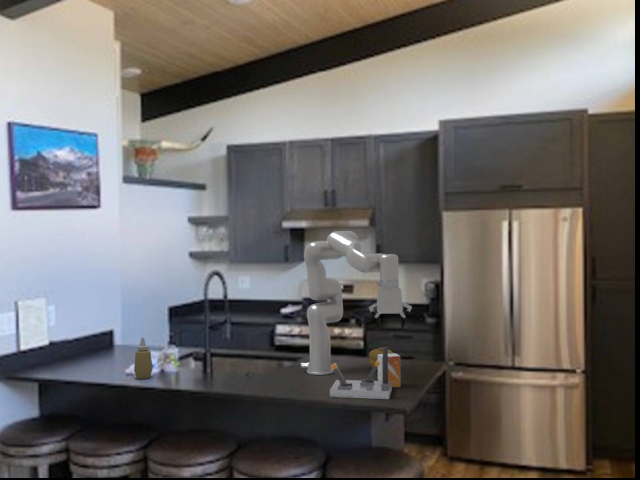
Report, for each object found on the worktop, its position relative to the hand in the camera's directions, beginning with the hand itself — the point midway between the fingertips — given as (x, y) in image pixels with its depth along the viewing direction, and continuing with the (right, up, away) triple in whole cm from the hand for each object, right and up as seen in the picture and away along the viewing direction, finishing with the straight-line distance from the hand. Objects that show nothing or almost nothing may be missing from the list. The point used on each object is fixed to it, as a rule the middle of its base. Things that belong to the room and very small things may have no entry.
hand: (390, 327), depth 264 cm
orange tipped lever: (-19, -22, -5) cm, 29 cm away
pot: (0, -25, +41) cm, 48 cm away
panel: (-12, -26, -2) cm, 29 cm away
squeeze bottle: (-108, -27, +30) cm, 115 cm away
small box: (0, -26, +9) cm, 27 cm away
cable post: (-3, -23, -8) cm, 25 cm away
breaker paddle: (-9, -22, 0) cm, 24 cm away
